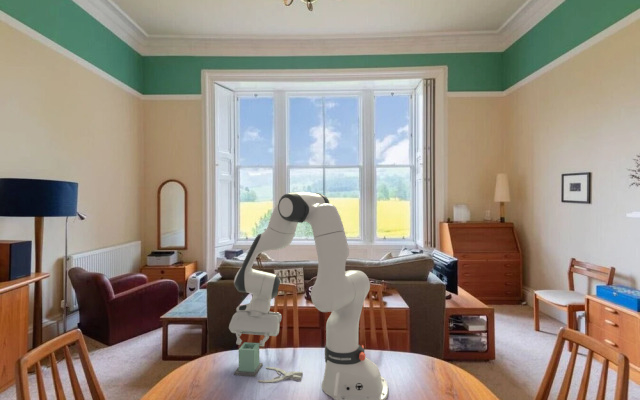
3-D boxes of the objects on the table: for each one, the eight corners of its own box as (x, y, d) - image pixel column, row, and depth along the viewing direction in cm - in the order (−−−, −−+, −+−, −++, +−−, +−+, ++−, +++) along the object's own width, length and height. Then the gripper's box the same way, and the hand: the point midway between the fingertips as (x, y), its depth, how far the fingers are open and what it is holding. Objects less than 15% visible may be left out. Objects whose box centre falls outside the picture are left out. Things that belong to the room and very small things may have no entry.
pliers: (266, 364, 126) (304, 367, 124) (266, 368, 126) (304, 371, 124) (257, 378, 116) (299, 382, 114) (257, 383, 116) (299, 386, 114)
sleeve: (259, 363, 127) (259, 343, 127) (254, 371, 121) (254, 350, 121) (244, 362, 128) (244, 342, 128) (238, 370, 122) (238, 349, 122)
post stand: (262, 365, 128) (262, 345, 127) (255, 376, 120) (254, 355, 120) (243, 363, 129) (242, 343, 129) (234, 374, 121) (234, 353, 121)
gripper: (283, 316, 138) (277, 350, 129) (237, 313, 141) (227, 346, 132) (281, 309, 134) (274, 343, 124) (233, 306, 137) (223, 339, 128)
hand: (249, 344), depth 128 cm, fingers open, 8 cm apart
